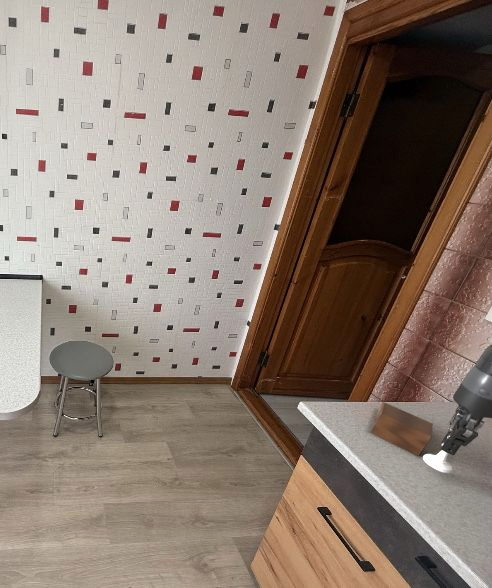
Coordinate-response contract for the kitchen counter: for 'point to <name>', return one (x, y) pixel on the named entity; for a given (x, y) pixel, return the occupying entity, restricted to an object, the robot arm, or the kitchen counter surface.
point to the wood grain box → (401, 428)
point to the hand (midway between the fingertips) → (447, 448)
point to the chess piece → (438, 461)
